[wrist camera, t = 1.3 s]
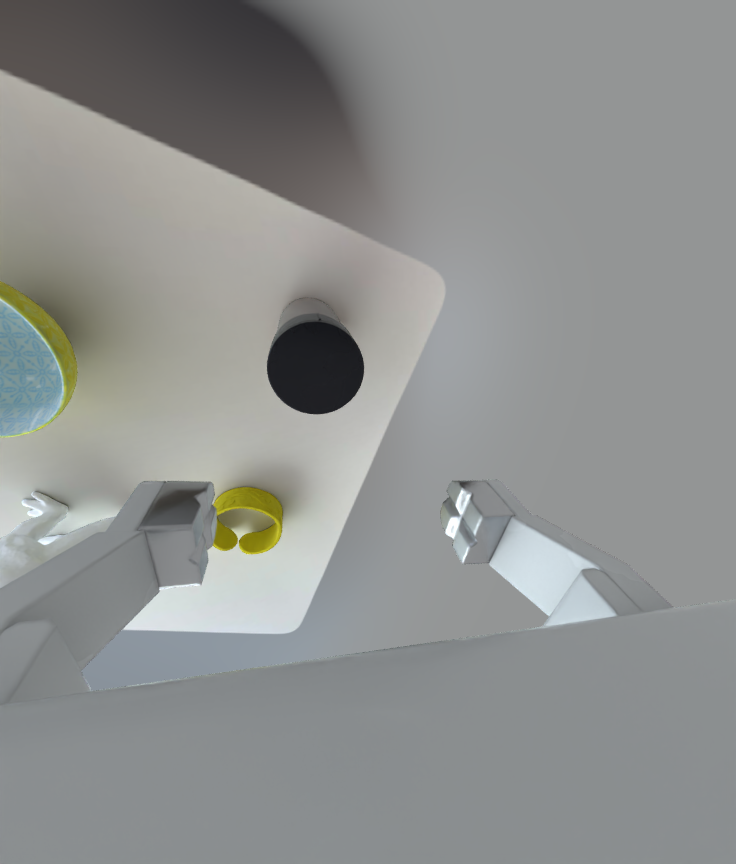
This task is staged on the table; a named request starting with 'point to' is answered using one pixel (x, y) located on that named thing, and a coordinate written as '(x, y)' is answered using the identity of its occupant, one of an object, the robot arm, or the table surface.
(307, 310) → the jar
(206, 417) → the table surface
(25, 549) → the dinosaur figurine
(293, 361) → the lid
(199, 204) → the table surface
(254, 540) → the bracelet
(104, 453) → the table surface
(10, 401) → the bowl
